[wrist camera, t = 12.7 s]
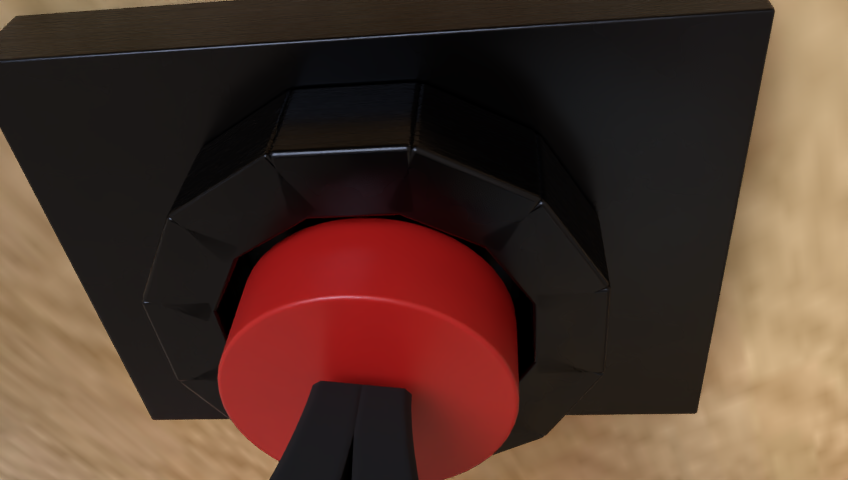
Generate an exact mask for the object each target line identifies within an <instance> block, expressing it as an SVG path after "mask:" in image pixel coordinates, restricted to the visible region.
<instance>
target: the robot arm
mask: <svg viewBox="0 0 848 480" xmlns="http://www.w3.org/2000/svg"><path fill="white" fill-rule="evenodd" d="M411 403H412V394H411V393H410V392H408V391H407V390H406V389H405V388H394V387H383V386H373V385H362V384H352V383H341V382H331V381H319V382H317V383H315V384H313V385H312V388H311V391H310V394H309V397H308V400H307V402H306V405H305V407H304V410H303V412H302V415H301V417H300V419H299V422H298V424H297V426H296V428H295V431H294V433H293V435H292V437H291V439H290V441H289V443H288V445H287V447H286V449H285V451H284V453H283V455H282V457H281V459H280V461H279V463H278V465H277V467H276V469H275V471H274V473H273V474H272V476H271V478H270V480H419V478H418V472H417V465H416V459H415V451H414V442H413V432H412V412H411Z"/></svg>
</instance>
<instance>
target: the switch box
mask: <svg viewBox="0 0 848 480" xmlns="http://www.w3.org/2000/svg"><path fill="white" fill-rule="evenodd" d="M774 13H775V10H774V8H773V6H772V5H771V3H770V1H769V0H233V1H219V2H205V3H192V4H178V5H164V6H151V7H137V8H123V9H109V10H96V11H82V12H68V13H54V14H41V15H27V16H16V17H14V18H13V19H12V20H11V21H10V22H9V23H8V24H7V25H6V26H5V27H4V28H3V29H2V30H1V31H0V128H1V130H2V132H3V134H4V136H5V138H6V140H7V142H8V143H9V145H10V147H11V149H12V151H13V153H14V155H15V157H16V159H17V161H18V163H19V165H20V166H21V168H22V170H23V172H24V174H25V176H26V178H27V180H28V182H29V184H30V186H31V188H32V189H33V191H34V193H35V195H36V197H37V199H38V201H39V203H40V205H41V207H42V209H43V211H44V212H45V214H46V216H47V218H48V220H49V222H50V224H51V226H52V228H53V230H54V232H55V234H56V235H57V237H58V239H59V241H60V243H61V245H62V247H63V249H64V251H65V253H66V255H67V257H68V258H69V260H70V262H71V264H72V266H73V268H74V270H75V272H76V274H77V276H78V278H79V280H80V281H81V283H82V285H83V287H84V289H85V291H86V293H87V295H88V297H89V299H90V301H91V303H92V304H93V306H94V308H95V310H96V312H97V314H98V316H99V318H100V320H101V322H102V324H103V326H104V327H105V329H106V331H107V333H108V335H109V337H110V339H111V341H112V343H113V345H114V347H115V349H116V350H117V352H118V354H119V356H120V358H121V360H122V362H123V364H124V366H125V368H126V370H127V372H128V373H129V375H130V377H131V379H132V381H133V383H134V385H135V387H136V389H137V391H138V393H139V395H140V396H141V398H142V400H143V402H144V404H145V406H146V408H147V410H148V412H149V414H150V416H151V418H152V419H153V420H185V419H230V418H229V416H228V414H227V412H226V410H225V408H224V406H223V403H222V400H221V397H220V394H219V387H218V379H217V377H218V366H219V363H220V360H221V356H222V353H223V350H224V347H225V344H226V341H227V338H228V335H229V332H230V329H231V326H232V323H233V320H234V317H235V314H236V311H237V308H238V305H239V302H240V299H241V296H242V293H243V290H244V287H245V285H246V282H247V279H248V277H249V275H250V273H251V271H252V269H253V267H254V266H255V265H256V263H257V262H258V261H259V260H260V258H261V257H262V256H263V255H264V254H265V253H266V252H267V251H268V250H270V249H271V248H272V247H273V246H274V245H275V244H277V243H278V242H280V241H281V240H283V239H284V238H286V237H287V236H289V235H291V234H293V233H295V232H297V231H300V230H302V229H304V228H307V227H310V226H313V225H316V224H319V223H322V222H327V221H332V220H337V219H345V218H356V217H378V218H387V219H396V220H402V221H406V222H411V223H415V224H419V225H422V226H425V227H428V228H431V229H434V230H437V231H439V232H441V233H444V234H446V235H448V236H450V237H453V238H454V239H456V240H458V241H459V242H461V243H463V244H464V245H466V246H468V247H469V248H471V249H472V250H473V251H474V252H476V253H477V254H478V255H480V256H481V257H482V258H483V259H484V260H485V261H486V262H487V263H488V264H489V265H490V266H491V267H492V268H493V269H494V270H495V271H496V273H497V274H498V275H499V277H500V278H501V279H502V281H503V282H504V284H505V286H506V288H507V290H508V291H509V293H510V295H511V298H512V301H513V304H514V307H515V313H516V321H517V347H518V374H519V412H518V415H517V419H516V422H515V425H514V427H513V429H512V430H511V432H510V434H509V436H508V438H507V439H506V440H505V442H504V443H503V444H502V446H501V447H500V448H499V449H498V450H497V451H496V452H495V453H494V454H497V453H500V452H503V451H506V450H508V449H511V448H514V447H517V446H520V445H523V444H526V443H528V442H531V441H534V440H537V439H540V438H542V437H544V436H545V435H547V434H548V433H549V432H550V431H551V429H552V428H553V427H554V426H555V425H556V424H557V423H558V422H559V421H560V420H561V419H562V418H563V417H564V416H565V415H615V414H695V413H697V410H698V404H699V399H700V394H701V389H702V384H703V379H704V373H705V368H706V363H707V358H708V353H709V348H710V343H711V337H712V332H713V327H714V322H715V317H716V312H717V307H718V301H719V296H720V291H721V286H722V281H723V276H724V270H725V265H726V260H727V255H728V250H729V245H730V240H731V234H732V229H733V224H734V219H735V214H736V209H737V203H738V198H739V193H740V188H741V183H742V178H743V173H744V167H745V162H746V157H747V152H748V147H749V142H750V136H751V131H752V126H753V121H754V116H755V111H756V106H757V100H758V95H759V90H760V85H761V80H762V75H763V69H764V64H765V59H766V54H767V49H768V44H769V39H770V33H771V28H772V23H773V18H774ZM230 420H231V419H230ZM494 454H493V455H494Z"/></svg>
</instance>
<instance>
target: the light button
mask: <svg viewBox="0 0 848 480" xmlns="http://www.w3.org/2000/svg"><path fill="white" fill-rule="evenodd" d="M217 379H218V387H219V394H220V397H221V400H222V403H223V406H224V408H225V410H226V412H227V414H228V416H229V418H230V419H231V420H232V422H233V423H234V424H235V426H236V427H237V429H238V430H239V431H240V432H241V433H242V434H243V435H244V436H245V437H246V438H247V439H248V440H249V441H251V442H252V443H253V444H254V445H255V446H257V447H258V448H259V449H260V450H262V451H263V452H265V453H266V454H268V455H269V456H271V457H272V458H274V459H276V460H278V461H280V459H281V457H282V455H283V453H284V451H285V449H286V447H287V445H288V443H289V441H290V439H291V437H292V435H293V433H294V431H295V428H296V426H297V424H298V422H299V419H300V417H301V415H302V412H303V410H304V407H305V405H306V402H307V400H308V397H309V394H310V391H311V388H312V385H313V384H315V383H317V382H319V381H331V382H341V383H352V384H362V385H373V386H383V387H394V388H405V389H406V390H407V391H408V392H410V393H411V394H412V403H411V412H412V432H413V442H414V451H415V459H416V465H417V472H418V478H419V480H444V479H447V478H451V477H454V476H456V475H458V474H461V473H463V472H466V471H468V470H470V469H472V468H473V467H475V466H477V465H479V464H481V463H482V462H483V461H485V460H486V459H488V458H489V457H490V456H492V455H493V454H494V453H495V452H496V451H497V450H498V449H499V448H500V447H501V446H502V444H503V443H504V442H505V440H506V439H507V438H508V436H509V434H510V432H511V430H512V429H513V427H514V425H515V422H516V419H517V415H518V412H519V374H518V347H517V321H516V313H515V307H514V304H513V301H512V298H511V295H510V293H509V291H508V290H507V288H506V286H505V284H504V282H503V281H502V279H501V278H500V277H499V275H498V274H497V273H496V271H495V270H494V269H493V268H492V267H491V266H490V265H489V264H488V263H487V262H486V261H485V260H484V259H483V258H482V257H481V256H480V255H478V254H477V253H476V252H474V251H473V250H472V249H471V248H469V247H468V246H466V245H464V244H463V243H461V242H459V241H458V240H456V239H454V238H453V237H450V236H448V235H446V234H444V233H441V232H439V231H437V230H434V229H431V228H428V227H425V226H422V225H419V224H415V223H411V222H406V221H402V220H396V219H387V218H378V217H356V218H345V219H337V220H332V221H327V222H322V223H319V224H316V225H313V226H310V227H307V228H304V229H302V230H300V231H297V232H295V233H293V234H291V235H289V236H287V237H286V238H284V239H283V240H281V241H280V242H278V243H277V244H275V245H274V246H273V247H272V248H271V249H270V250H268V251H267V252H266V253H265V254H264V255H263V256H262V257H261V258H260V260H259V261H258V262H257V263H256V265H255V266H254V267H253V269H252V271H251V273H250V275H249V277H248V279H247V282H246V285H245V287H244V290H243V293H242V296H241V299H240V302H239V305H238V308H237V311H236V314H235V317H234V320H233V323H232V326H231V329H230V332H229V335H228V338H227V341H226V344H225V347H224V350H223V353H222V356H221V360H220V363H219V366H218V377H217Z"/></svg>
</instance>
